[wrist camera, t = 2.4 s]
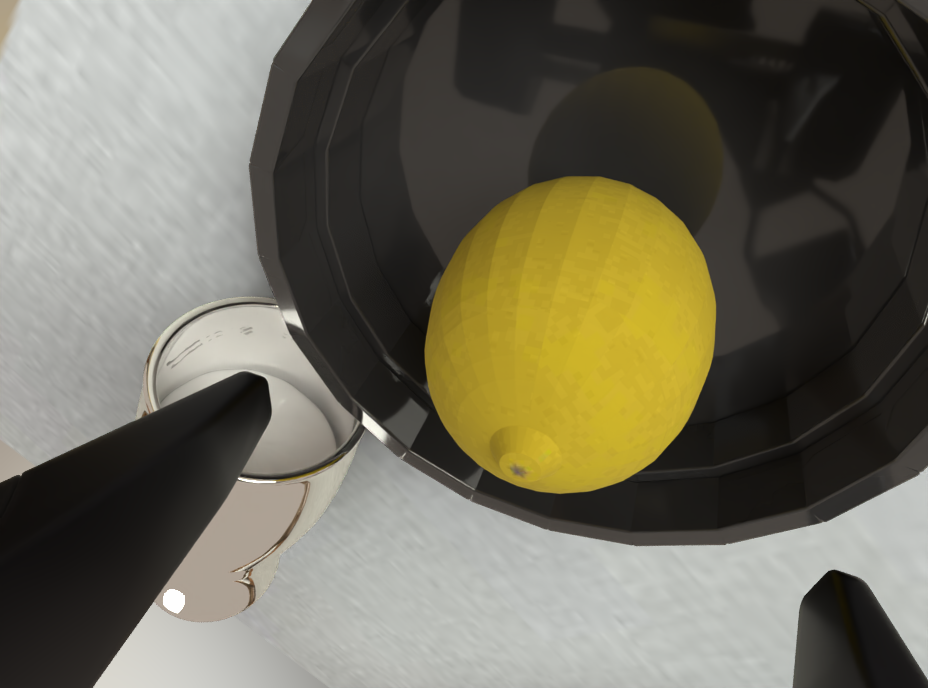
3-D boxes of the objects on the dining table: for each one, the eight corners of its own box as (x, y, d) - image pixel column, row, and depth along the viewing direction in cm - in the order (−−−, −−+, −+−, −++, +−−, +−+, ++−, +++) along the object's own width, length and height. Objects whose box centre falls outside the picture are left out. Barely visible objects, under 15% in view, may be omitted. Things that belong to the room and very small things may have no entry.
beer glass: (174, 669, 26) (213, 540, 15) (99, 530, 28) (88, 329, 17) (315, 575, 30) (422, 424, 20) (243, 461, 32) (305, 268, 22)
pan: (1200, 142, 11) (1365, 251, 8) (662, 505, 21) (650, 611, 18) (482, -354, 10) (381, -431, 7) (282, 271, 21) (206, 343, 18)
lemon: (456, 190, 16) (295, 389, 10) (655, 73, 13) (586, 267, 7) (563, 347, 18) (479, 589, 12) (758, 280, 15) (772, 564, 9)
